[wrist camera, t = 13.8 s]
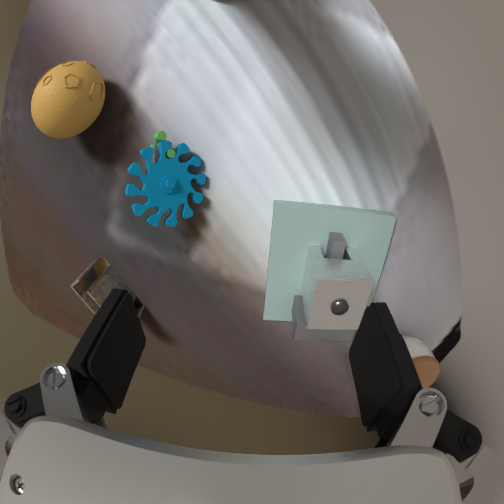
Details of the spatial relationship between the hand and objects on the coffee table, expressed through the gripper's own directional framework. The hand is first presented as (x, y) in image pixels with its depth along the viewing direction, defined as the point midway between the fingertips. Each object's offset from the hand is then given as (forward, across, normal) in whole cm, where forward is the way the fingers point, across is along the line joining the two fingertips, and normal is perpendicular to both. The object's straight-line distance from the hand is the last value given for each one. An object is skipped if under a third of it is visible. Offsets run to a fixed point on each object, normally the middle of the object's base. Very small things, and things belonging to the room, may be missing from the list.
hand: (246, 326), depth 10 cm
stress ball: (+26, +23, -11) cm, 36 cm away
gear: (+25, +10, +1) cm, 27 cm away
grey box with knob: (+23, -9, +12) cm, 28 cm away
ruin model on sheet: (+25, +22, +19) cm, 38 cm away
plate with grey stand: (+24, -10, +13) cm, 29 cm away
